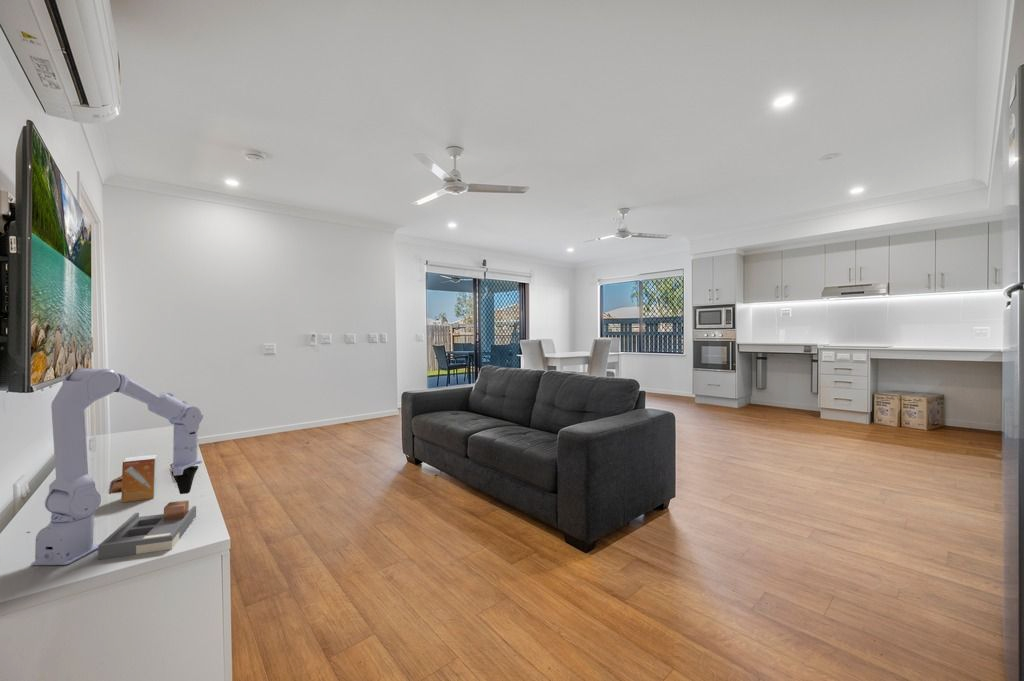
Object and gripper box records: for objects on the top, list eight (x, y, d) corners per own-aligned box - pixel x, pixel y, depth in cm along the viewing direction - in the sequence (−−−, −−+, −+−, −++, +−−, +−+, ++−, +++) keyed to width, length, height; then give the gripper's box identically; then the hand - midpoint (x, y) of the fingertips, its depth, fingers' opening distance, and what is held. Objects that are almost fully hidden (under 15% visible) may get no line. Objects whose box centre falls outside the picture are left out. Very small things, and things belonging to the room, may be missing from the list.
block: (183, 518, 119) (183, 505, 119) (163, 520, 118) (163, 507, 118) (188, 512, 123) (188, 500, 123) (169, 514, 122) (169, 502, 122)
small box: (120, 503, 135) (121, 461, 135) (124, 497, 140) (125, 457, 141) (154, 498, 140) (155, 458, 140) (157, 492, 145) (157, 453, 145)
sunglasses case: (109, 480, 156) (122, 463, 159) (131, 487, 160) (144, 470, 163) (108, 494, 143) (122, 474, 145) (132, 500, 147) (146, 481, 149)
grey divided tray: (172, 549, 106) (172, 535, 106) (97, 559, 100) (98, 545, 100) (196, 517, 125) (196, 506, 125) (135, 524, 120) (135, 512, 120)
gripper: (195, 451, 122) (194, 499, 122) (208, 440, 136) (207, 483, 136) (164, 453, 119) (163, 502, 119) (180, 442, 133) (180, 486, 133)
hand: (184, 493), depth 127 cm, fingers closed
